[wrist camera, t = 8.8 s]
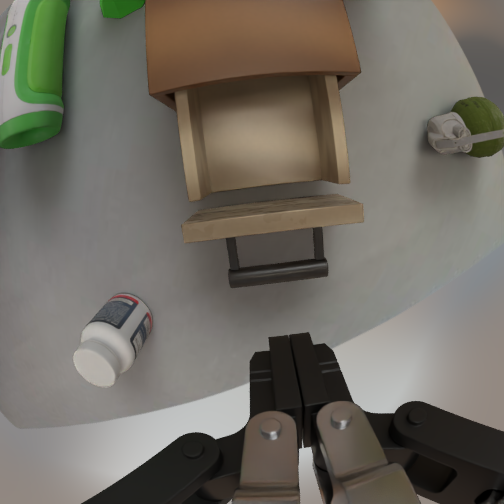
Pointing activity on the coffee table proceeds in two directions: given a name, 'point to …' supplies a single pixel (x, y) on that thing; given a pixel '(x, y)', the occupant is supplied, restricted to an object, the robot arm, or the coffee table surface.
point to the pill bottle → (113, 340)
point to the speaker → (32, 72)
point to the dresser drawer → (265, 164)
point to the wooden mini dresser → (244, 42)
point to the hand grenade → (468, 129)
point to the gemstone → (119, 7)
